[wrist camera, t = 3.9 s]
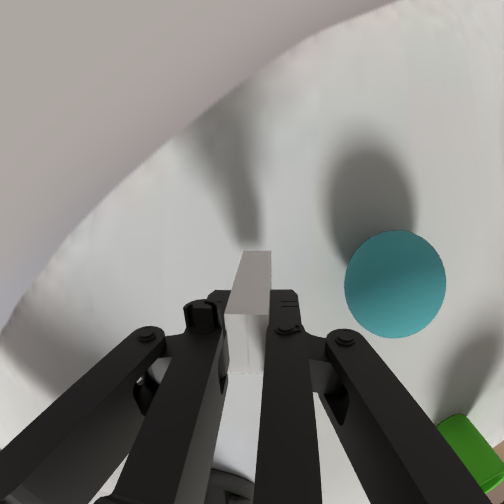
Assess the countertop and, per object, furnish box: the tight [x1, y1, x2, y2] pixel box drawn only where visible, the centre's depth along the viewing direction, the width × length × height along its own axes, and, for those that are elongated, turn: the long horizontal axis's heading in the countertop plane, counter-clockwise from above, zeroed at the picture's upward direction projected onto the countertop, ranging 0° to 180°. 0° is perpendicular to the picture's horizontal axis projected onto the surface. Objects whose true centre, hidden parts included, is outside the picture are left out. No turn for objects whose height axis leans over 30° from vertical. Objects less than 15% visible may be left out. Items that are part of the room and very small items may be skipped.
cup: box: [436, 414, 504, 494], centre depth 18 cm, size 9×9×11 cm
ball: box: [344, 230, 446, 338], centre depth 15 cm, size 6×6×6 cm
